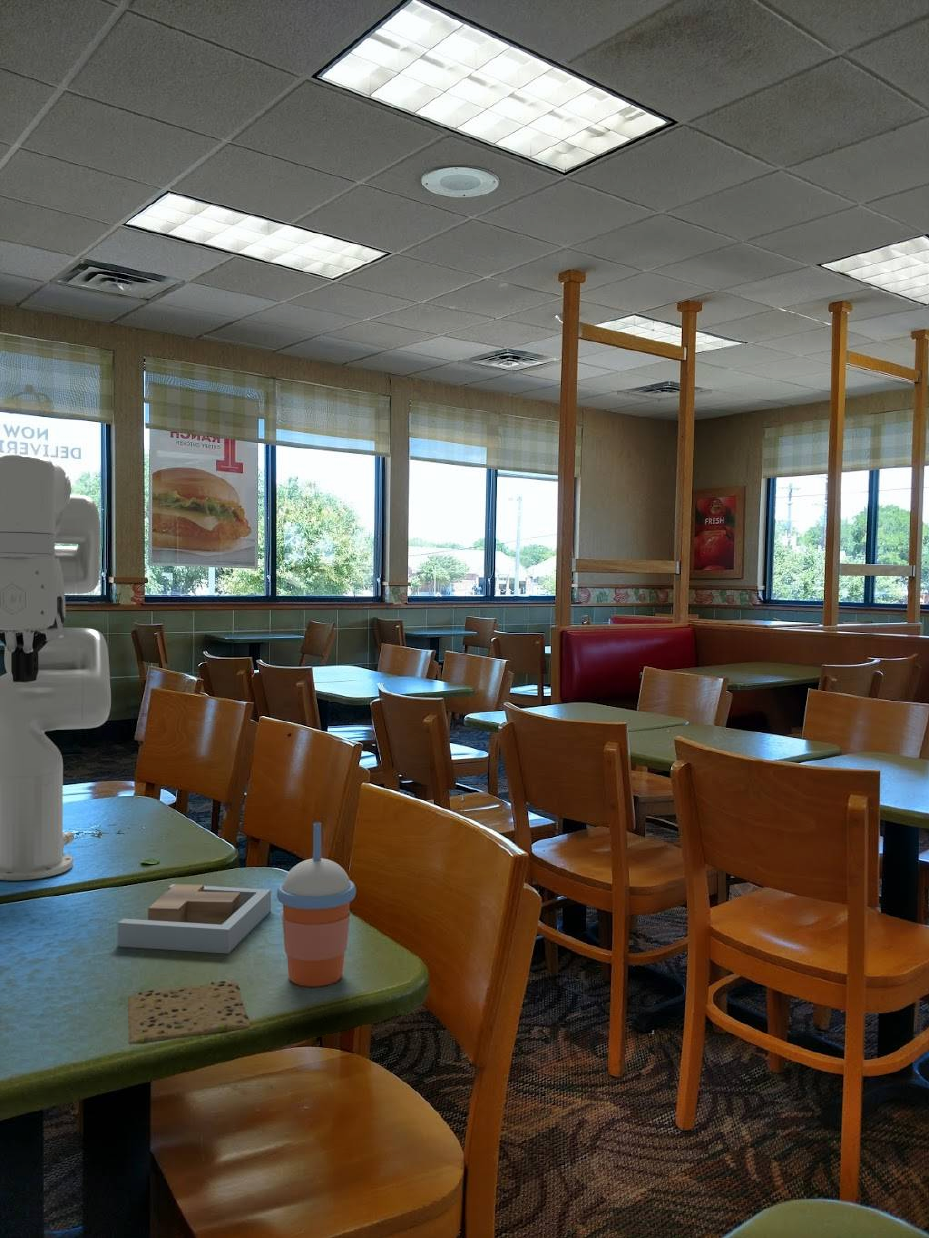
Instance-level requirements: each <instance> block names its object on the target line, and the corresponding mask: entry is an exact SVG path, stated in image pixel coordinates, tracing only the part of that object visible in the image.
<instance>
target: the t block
mask: <svg viewBox="0 0 929 1238" xmlns="http://www.w3.org/2000/svg"><path fill="white" fill-rule="evenodd" d="M174 884H175V885H174V886H173V887H172V888H171V889H169V890H168V889H167V891H166V892H165V893H164V894H163V895H161V896H160V897H159V898H158V899H157V900H156V901H155V902H153V903H152V904H151V905H150V906H149V907H147V920H153V921H169V922H185V923H202V924H218V925H222V924H223V923H224V922H225V921H226V920H227V919H229V918H230V917H231V916H232V915H233V914H234V913H235V912H236V911H237V910H238V909H239V908H240V892H204V886H205V885H204V884H188V883H187V884H184V883H183V884H180V883H179V884H178V883H174Z"/></svg>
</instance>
